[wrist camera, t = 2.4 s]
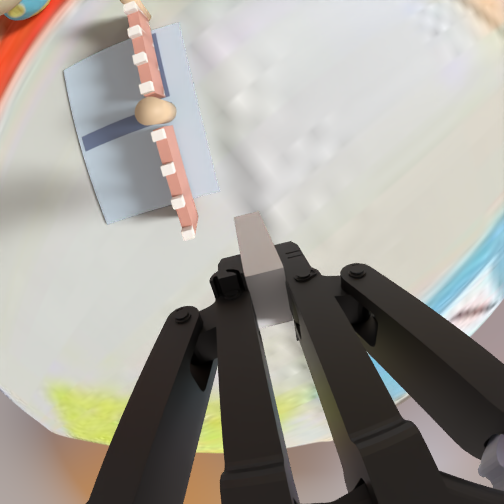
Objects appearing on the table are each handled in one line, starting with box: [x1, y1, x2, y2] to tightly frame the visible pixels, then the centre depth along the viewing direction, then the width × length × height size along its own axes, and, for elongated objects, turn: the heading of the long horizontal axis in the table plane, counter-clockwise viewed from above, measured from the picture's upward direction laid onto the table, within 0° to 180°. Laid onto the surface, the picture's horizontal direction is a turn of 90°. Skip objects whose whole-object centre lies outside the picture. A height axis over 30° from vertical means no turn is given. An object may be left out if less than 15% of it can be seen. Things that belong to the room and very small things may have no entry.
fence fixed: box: [120, 0, 177, 125], centre depth 19 cm, size 14×2×8 cm, turn 13°
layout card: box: [64, 22, 220, 224], centre depth 25 cm, size 20×14×1 cm
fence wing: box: [151, 125, 198, 241], centre depth 25 cm, size 10×1×6 cm, turn 13°
